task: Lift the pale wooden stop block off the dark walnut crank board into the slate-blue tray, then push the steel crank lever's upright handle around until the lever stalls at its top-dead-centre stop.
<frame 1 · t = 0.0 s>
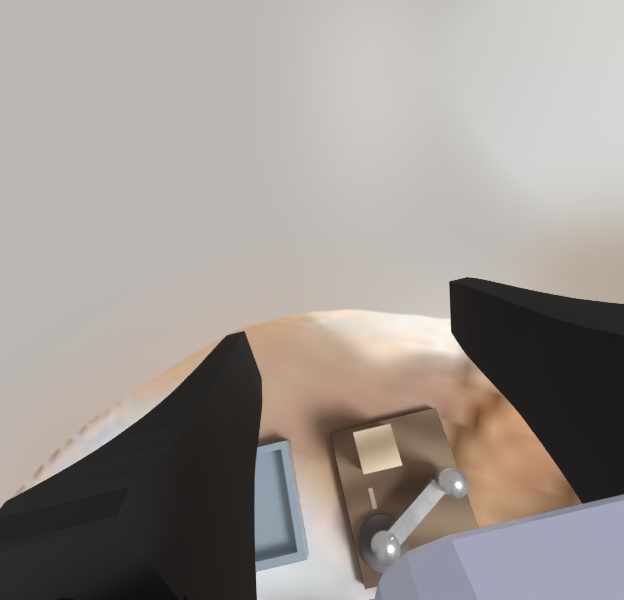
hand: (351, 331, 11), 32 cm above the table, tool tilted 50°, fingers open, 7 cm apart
crank board: (402, 489, 37), on the table
crank lever: (417, 516, 32), point 4 cm above the table, hinge at -60.0°
stop block: (373, 447, 38), point 1 cm above the table, touching crank board
tray: (250, 504, 38), on the table
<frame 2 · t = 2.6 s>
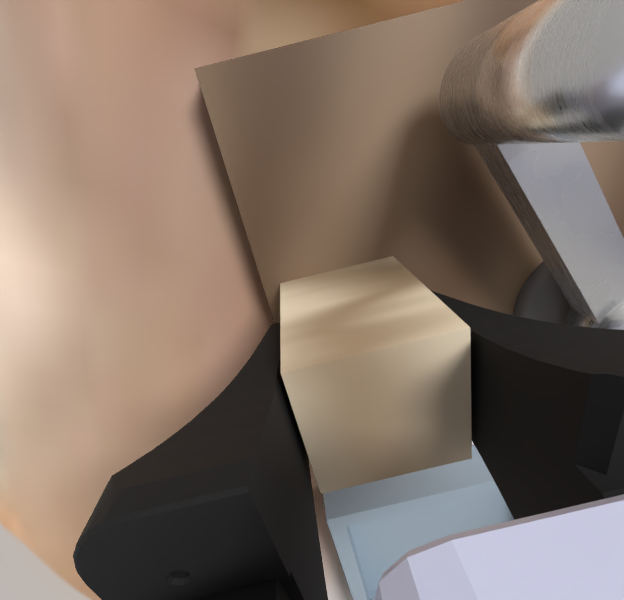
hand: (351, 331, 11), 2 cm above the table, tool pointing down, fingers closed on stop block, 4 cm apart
crank board: (460, 232, 12), on the table
stop block: (346, 319, 12), point 1 cm above the table, touching crank board, gripper
tray: (434, 520, 20), on the table
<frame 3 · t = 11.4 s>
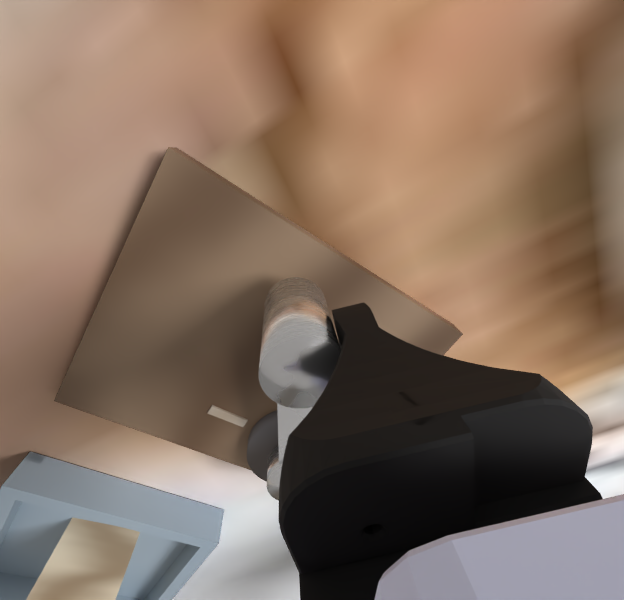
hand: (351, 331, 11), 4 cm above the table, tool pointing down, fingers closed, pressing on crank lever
crank board: (263, 355, 16), on the table
crank lever: (297, 432, 13), point 5 cm above the table, hinge at -57.8°, touching gripper
stop block: (99, 542, 21), resting on tray
tray: (101, 537, 21), on the table
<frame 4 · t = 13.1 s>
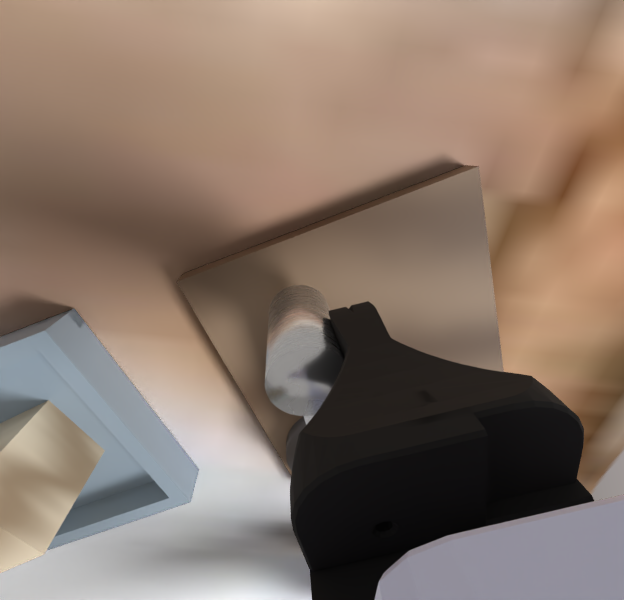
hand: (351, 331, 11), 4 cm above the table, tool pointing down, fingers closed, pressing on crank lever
crank board: (366, 355, 17), on the table
crank lever: (325, 435, 13), point 5 cm above the table, hinge at -8.8°, touching gripper
stop block: (46, 441, 17), resting on tray
tray: (47, 435, 17), on the table
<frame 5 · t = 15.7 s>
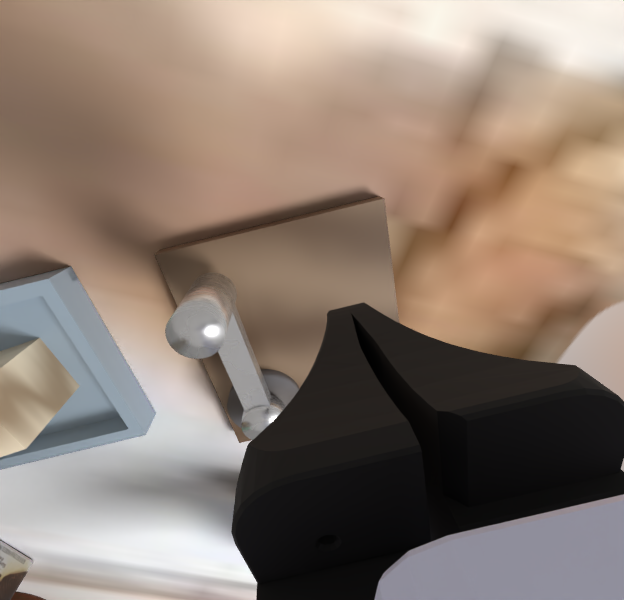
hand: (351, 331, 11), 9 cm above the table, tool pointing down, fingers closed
crank board: (299, 331, 22), on the table
crank lever: (238, 382, 18), point 5 cm above the table, hinge at 1.4°
stop block: (32, 372, 21), resting on tray
tray: (32, 368, 21), on the table
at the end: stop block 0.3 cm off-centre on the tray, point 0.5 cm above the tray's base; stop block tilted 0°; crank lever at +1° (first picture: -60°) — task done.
